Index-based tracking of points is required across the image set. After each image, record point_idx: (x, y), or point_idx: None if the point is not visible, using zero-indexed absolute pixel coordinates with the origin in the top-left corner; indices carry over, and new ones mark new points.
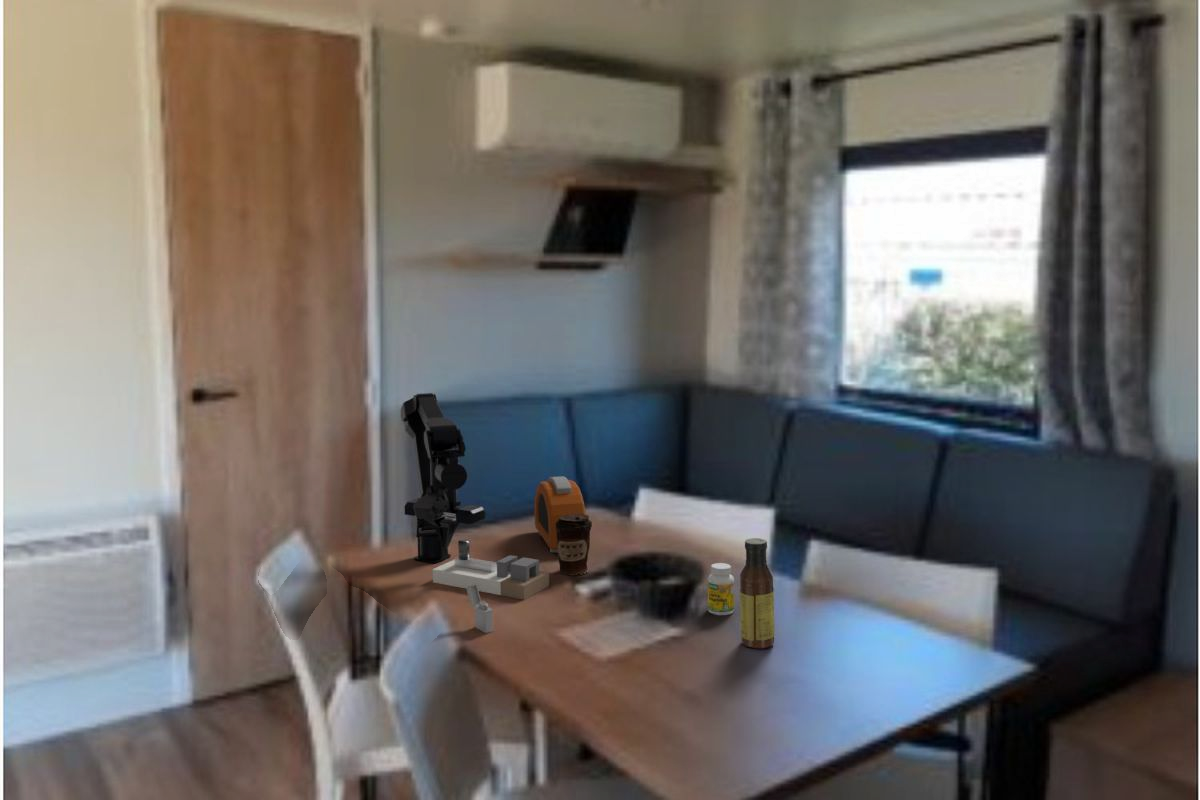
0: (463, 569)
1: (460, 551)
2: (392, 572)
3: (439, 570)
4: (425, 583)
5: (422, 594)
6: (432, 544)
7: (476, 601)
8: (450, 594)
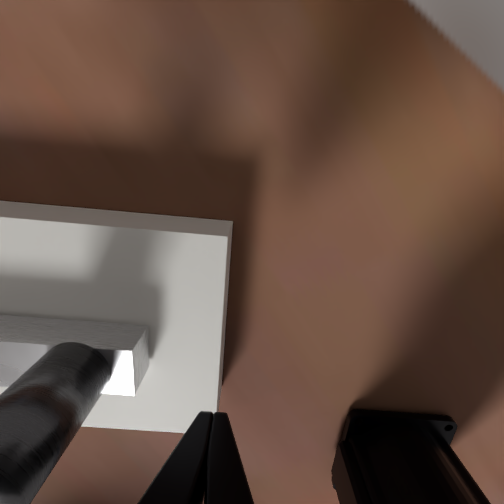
0: (70, 296)
1: (34, 384)
2: (477, 267)
3: (178, 232)
4: (257, 195)
5: (172, 31)
6: (403, 502)
7: None
8: (47, 97)
